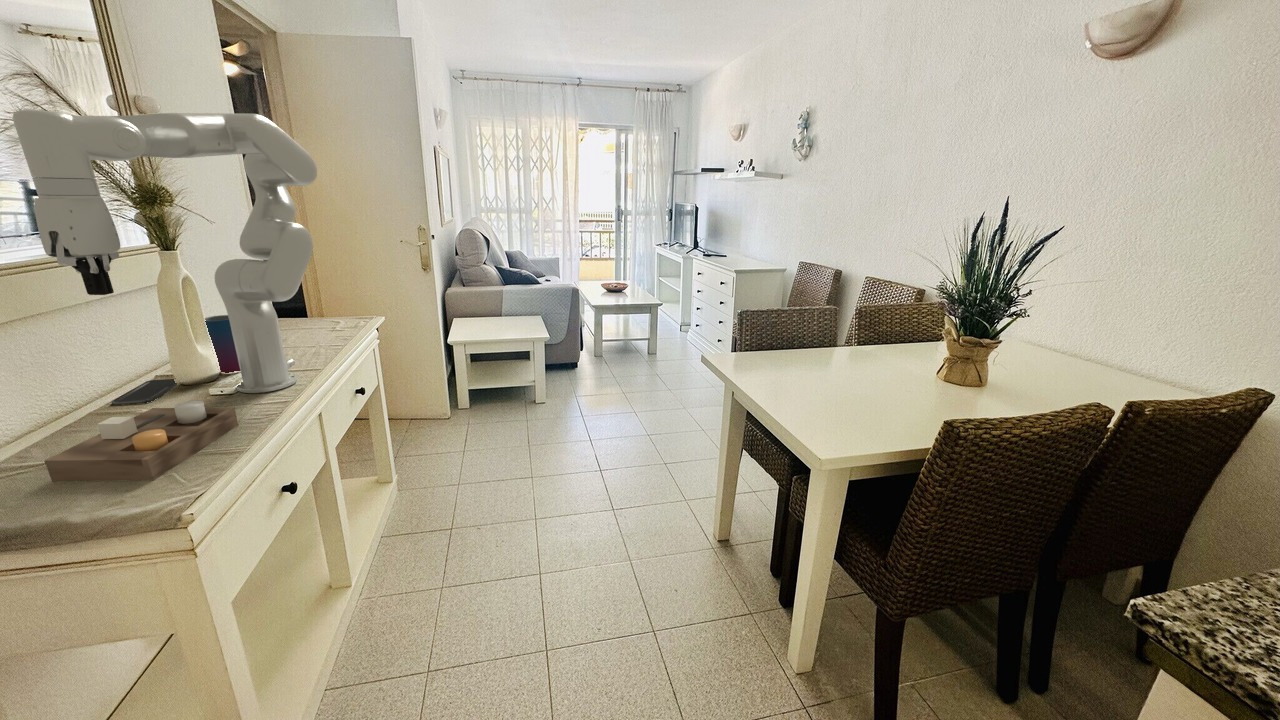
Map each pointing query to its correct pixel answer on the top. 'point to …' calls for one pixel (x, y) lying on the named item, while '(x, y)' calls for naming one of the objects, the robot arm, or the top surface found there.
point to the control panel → (127, 464)
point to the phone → (146, 392)
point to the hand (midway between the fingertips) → (101, 293)
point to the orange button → (150, 440)
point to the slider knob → (117, 427)
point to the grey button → (190, 412)
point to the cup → (223, 342)
